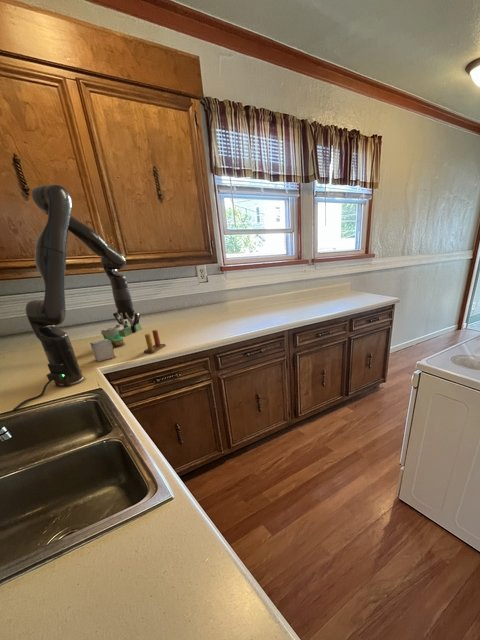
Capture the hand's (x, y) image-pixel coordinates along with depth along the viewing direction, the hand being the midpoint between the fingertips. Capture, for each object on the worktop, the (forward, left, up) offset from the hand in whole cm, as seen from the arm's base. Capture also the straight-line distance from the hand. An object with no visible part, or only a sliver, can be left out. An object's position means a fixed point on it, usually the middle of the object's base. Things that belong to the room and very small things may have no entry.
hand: (131, 332), depth 166 cm
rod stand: (+3, -9, -10) cm, 14 cm away
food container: (+6, +14, -10) cm, 18 cm away
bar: (0, 0, 0) cm, 0 cm away
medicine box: (-13, +8, -10) cm, 18 cm away
